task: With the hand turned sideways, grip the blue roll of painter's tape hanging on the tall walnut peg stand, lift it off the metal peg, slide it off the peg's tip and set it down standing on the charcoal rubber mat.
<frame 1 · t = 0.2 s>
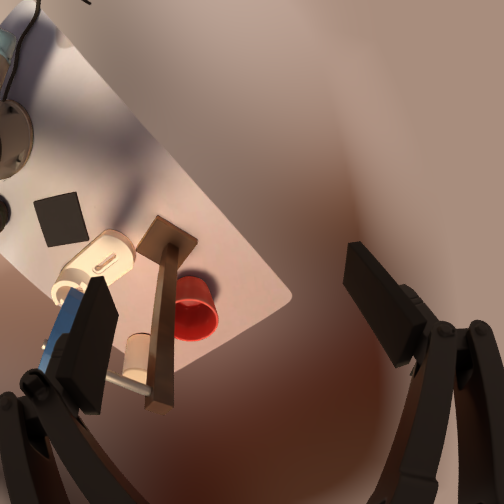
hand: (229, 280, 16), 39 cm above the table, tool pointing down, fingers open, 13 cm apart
mug: (138, 383, 62), point 11 cm above the table
tape roll: (69, 344, 26), point 31 cm above the table, touching peg stand
flower pot: (189, 290, 64), on the table
mat: (61, 220, 51), on the table
peg stand: (170, 245, 58), on the table
bracket: (95, 265, 57), on the table
mate gourd: (0, 210, 47), on the table
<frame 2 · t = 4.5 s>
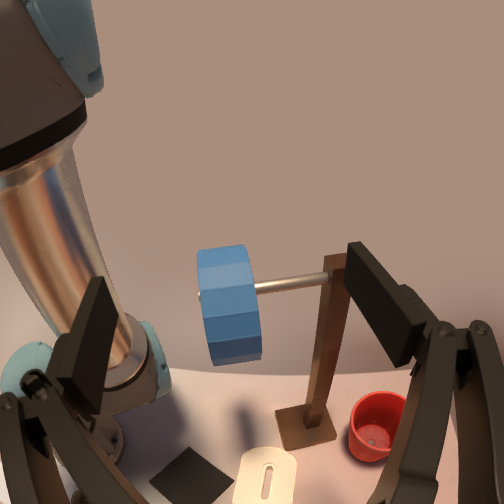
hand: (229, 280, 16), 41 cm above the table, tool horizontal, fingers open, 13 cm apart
tape roll: (228, 305, 29), point 31 cm above the table, touching peg stand
flower pot: (369, 444, 42), on the table
mat: (190, 483, 38), on the table
peg stand: (310, 426, 47), on the table
bracket: (262, 503, 35), on the table
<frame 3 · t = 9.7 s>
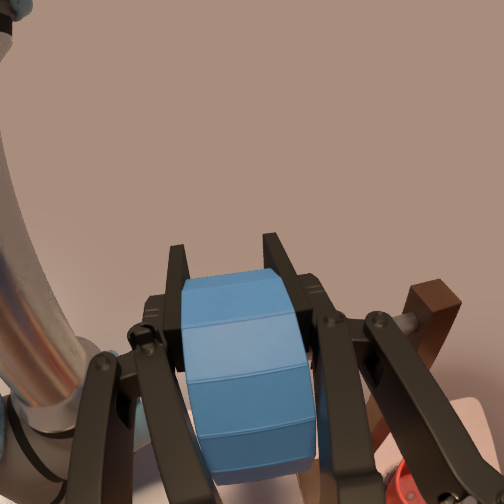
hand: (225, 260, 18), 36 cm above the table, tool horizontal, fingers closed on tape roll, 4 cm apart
tape roll: (244, 378, 15), point 31 cm above the table, touching gripper, peg stand
flower pot: (408, 496, 28), on the table
peg stand: (338, 480, 33), on the table
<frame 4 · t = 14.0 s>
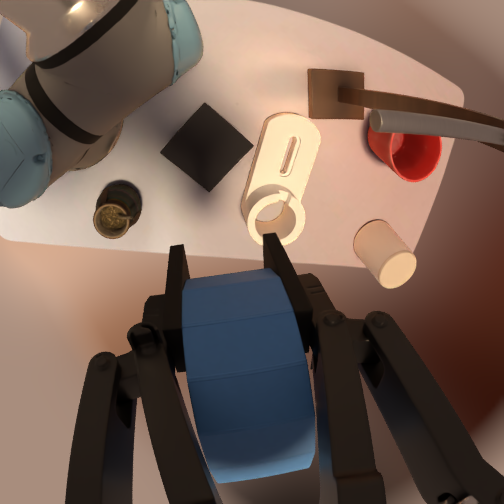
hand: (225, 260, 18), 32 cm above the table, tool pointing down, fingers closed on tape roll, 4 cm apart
mug: (399, 275, 50), point 11 cm above the table
tape roll: (244, 377, 15), point 37 cm above the table, tilted 90°, touching gripper
flower pot: (384, 135, 48), on the table
mat: (206, 147, 44), on the table
peg stand: (340, 94, 43), on the table
bracket: (277, 172, 49), on the table
mate gourd: (123, 199, 46), on the table
when the fingers open (2 cm above the table, at t = 19.7 s): tape roll stays where it is, resting on mat.
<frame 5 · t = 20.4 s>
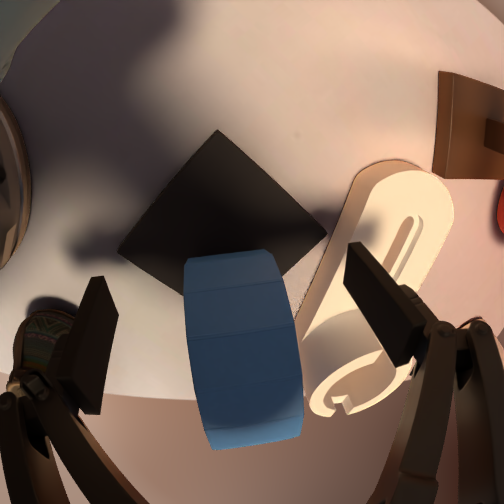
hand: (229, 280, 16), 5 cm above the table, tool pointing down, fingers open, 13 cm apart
tape roll: (239, 351, 17), point 6 cm above the table, tilted 91°, touching mat
mat: (222, 238, 20), on the table
peg stand: (479, 129, 19), on the table
bracket: (361, 277, 24), on the table
mate gourd: (64, 327, 22), on the table
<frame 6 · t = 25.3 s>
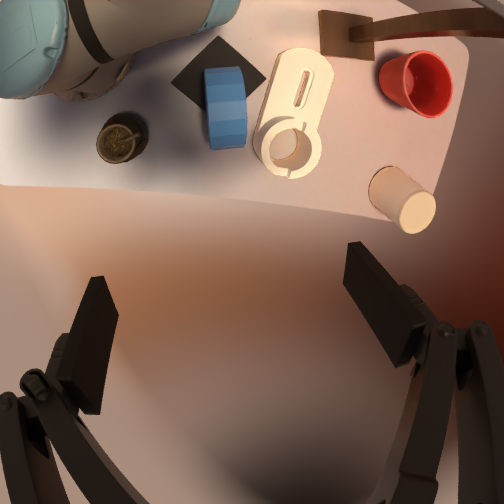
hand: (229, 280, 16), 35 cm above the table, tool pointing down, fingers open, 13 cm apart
mug: (419, 218, 46), point 11 cm above the table
tape roll: (223, 107, 37), point 6 cm above the table, tilted 90°, touching mat
flower pot: (395, 80, 43), on the table
mat: (218, 79, 40), on the table
peg stand: (350, 36, 39), on the table
bracket: (290, 107, 44), on the table
mate gourd: (128, 133, 42), on the table
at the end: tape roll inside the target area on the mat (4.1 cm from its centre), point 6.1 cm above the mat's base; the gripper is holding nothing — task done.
